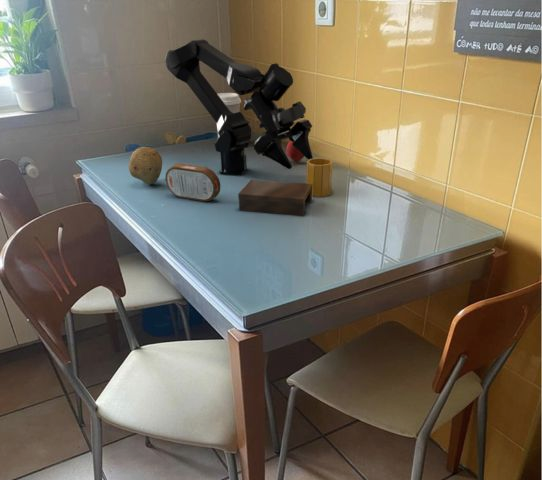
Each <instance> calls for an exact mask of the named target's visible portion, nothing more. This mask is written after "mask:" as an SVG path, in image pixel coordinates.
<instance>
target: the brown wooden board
mask: <svg viewBox="0 0 542 480" xmlns="http://www.w3.org/2000/svg"><path fill="white" fill-rule="evenodd" d="M237 197H238V208H239V211H243V212H244V211H245V212H255V213H268V214H279V215H291V216H304V215H305V212H306V210H305V209H306V203H308V204H310V203H312V202H313V201H312V200H313V196H312V184H307V183H306V182H292V181H275V180H265V179H264V180H263V179H250V180H249V181H248V182H247V184H246V185H245V186H244V187H243V188H242V189H241V190H240V191H239V192H238V195H237Z"/></svg>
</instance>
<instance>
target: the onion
mask: <svg viewBox="0 0 542 480" xmlns="http://www.w3.org/2000/svg"><path fill="white" fill-rule="evenodd" d="M292 143H293V142H292V141H290V140H289V142H288V143H287V145H286V149H285V150H286V151H285V152H286V153H285V154H286V156H287V158H288V159H289V160H291V161H292V162H293V163H294V164H297V163H298V162H300V161H301V160H302V159H304V157H305V156H304V155H303V154H302V153H301V152H300V151H298V150H297V149H296V148H295V147H294V146H293V145H292Z"/></svg>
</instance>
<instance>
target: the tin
mask: <svg viewBox="0 0 542 480" xmlns="http://www.w3.org/2000/svg"><path fill="white" fill-rule="evenodd" d="M165 183H166V186H167V188H168V190H169V191H170V192H171V193H172V194H173V195H174V196H176V197H177V198H181V199H186V200H187V199H188V200H192V201H199V202H209V201H212V200H213V199H215V198H216V197H218V196H219V194H220V192H221V181H220V178H219V176H218V175H217V174H216V172H215V171H214V170H212V169H211V168H209V167H207V166H204V165H203V166H202V165H196V164H188V163H183V162H177V163H174V164H173V165H172V166H171V167H169V168H168V169H167V171H166V172H165Z"/></svg>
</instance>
